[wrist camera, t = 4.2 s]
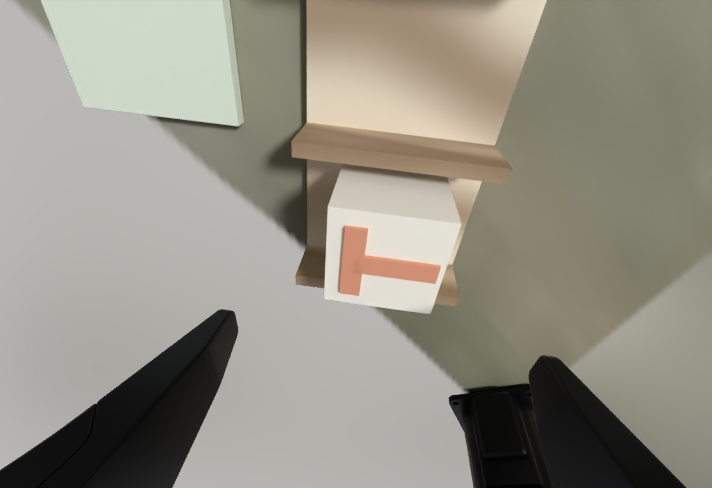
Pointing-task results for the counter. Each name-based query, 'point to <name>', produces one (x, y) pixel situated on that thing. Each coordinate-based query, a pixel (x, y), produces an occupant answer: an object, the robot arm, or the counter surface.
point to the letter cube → (389, 238)
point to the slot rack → (408, 100)
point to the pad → (151, 56)
